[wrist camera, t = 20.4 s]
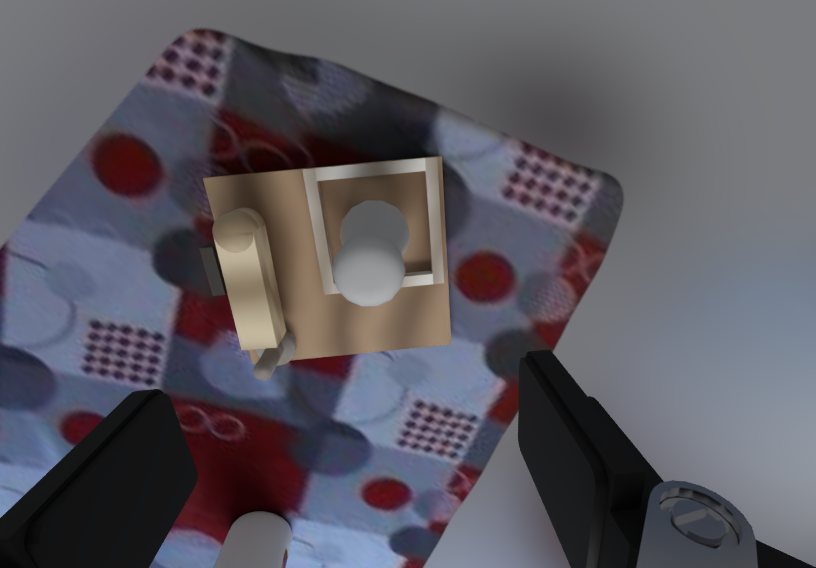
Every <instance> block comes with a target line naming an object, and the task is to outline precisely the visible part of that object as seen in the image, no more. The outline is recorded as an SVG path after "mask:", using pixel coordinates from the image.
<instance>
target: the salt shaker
mask: <svg viewBox="0 0 816 568" xmlns="http://www.w3.org/2000/svg"><path fill="white" fill-rule="evenodd" d="M410 236H411V235H410V231H409V227H408V223H407V220H406V218H405V217H404V216H403V214H402V213H401V212H400V211H399V209H398V208H397V207H395V206H393V205H391V204H389V203H386V202H384V201H374V200H366V201H364V202H362V203H360V204H358V205H356V206H354V207H352V208H351V209H350V211H349V212H348V213H347V215H346V216H345V217H344V218H343V220H342V224H341V230H340V239H341V243H342V247H341V248H340V250H339V251H338V252H337V253H336V255H335V257H334V264H333V270H332V273H333V278H334V281H335V284H336V288H337V290H338V291H339V292H340V293H341V294H342V295H343V296H344V297H345V298H346V299H347V300H348V301H350V302H353V303H355V304H357V305H360V306H378V305H381V304H383V303H385V302H387V301H390V300H391V299H392V298H393V297H394V296H395V294H396V293H397V292H398V291H399V290H400V288H401V286H402V283H403V279H404V275H405V271H406V270H405V266H404V262H403V258H402V256H403V255H404V253H405V252H406V250H407V247H408V243H409V239H410Z"/></svg>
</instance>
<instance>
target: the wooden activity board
mask: <svg viewBox="0 0 816 568" xmlns="http://www.w3.org/2000/svg"><path fill="white" fill-rule="evenodd" d="M203 181H204V184H205V188H206V192H207V196H208V199H209V203H210V207H211V211H212V214H213V218H214V222H215V221H216V219H217V218H219V217H220V216H222V215H224V214H226V213H229V212H231V211H234V210H236V209H239V208H251V209H253V210H255V211H257V212H258V213H259V214H260V215H261V216H262V218H263V219H264V222H265V226H266V231H267V236H268V241H269V246H270V251H271V256H272V261H273V266H274V271H275V277H276V282H277V287H278V292H279V297H280V302H281V307H282V312H283V317H284V322H285V327H286V333H285V335H284V336H283V338H282V340H281V342H280V344H279V345H278V347H277V348H265V349H253V350H249V353H250V356H251V360H252V364H256V365H255V367H254V369H253V375H254V376H255V377H256V378H257V379H259V380H267V379H269V378H270V377H271V375H272V373H273V372H274V370H275V368H276V366H277V365H283V364H286V363H288V362H289V361H290V360H298V359H308V358H318V357H328V356H338V355H348V354H358V353H368V352H378V351H388V350H398V349H408V348H418V347H428V346H438V345H448V344H451V328H450V309H449V289H448V270H447V250H446V231H445V212H444V192H443V173H442V156H432V157H421V158H410V159H400V160H389V161H378V162H367V163H356V164H345V165H334V166H324V167H313V168H302V169H291V170H280V171H269V172H258V173H248V174H237V175H226V176H215V177H207V178H203ZM366 200H374V201H384V202H386V203H389V204H391V205H393V206H395V207H397V208H398V209H399V211H400V212H401V213H402V214H403V216H404V217H405V218H406V220H407V223H408V227H409V231H410V235H411V236H410V239H409V243H408V247H407V250H406V252H405V253H404V255H403V256H402V258H403V262H404V266H405V270H406V271H405V275H404V279H403V283H402V286H401V288H400V290H399V291H398V292H397V293H396V294H395V296H394V297H393V298H392V299H391V300H390V301H387V302H385V303H383V304H381V305H378V306H360V305H357V304H355V303H353V302H350V301H348V300H347V299H346V298H345V297H344V296H343V295H342V294H341V293H340V292H339V291H338V290H337V288H336V284H335V281H334V278H333V273H332V270H333V264H334V257H335V255H336V253H337V252H338V251H339V250H340V248H341V247H342V243H341V239H340V230H341V224H342V220H343V218H344V217H345V216H346V215H347V213H348V212H349V211H350V209H351V208H352V207H354V206H356V205H358V204H360V203H362V202H364V201H366ZM199 249H200V253H201V256H202V260H203V263H204V267H205V270H206V274H207V277H208V280H209V284H210V287H211V291H212V294H213V296H216V295H225V294H226V293H227V289H226V285H225V281H224V277H223V273H222V269H221V265H220V261H219V257H218V253H217V249H216V245H215V241H212V242H210V243H208V244H206V245H205V246H203V247H201V248H199Z"/></svg>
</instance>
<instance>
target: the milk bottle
mask: <svg viewBox="0 0 816 568" xmlns="http://www.w3.org/2000/svg"><path fill="white" fill-rule="evenodd" d="M291 541H292V532H291V528H290V526H289V524H288V523H287V522H286V520H284V519H283V518H282V517H280V516H278V515H276V514H274V513H271V512H266V511H254V512H250V513H247V514H244V515H242V516H241V517H239V518H238V519H237V520H236V521H235V522H234V523H233V524H232V526H231V528H230V530H229V532H228V535H227V537H226V539H225V542H224V544H223V547H222V549H221V551H220V554H219V556H218V559H217V561H216V563H215V566H214V568H285V566H286V562H287V558H288V554H289V550H290V545H291Z"/></svg>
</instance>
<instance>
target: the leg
mask: <svg viewBox="0 0 816 568" xmlns="http://www.w3.org/2000/svg"><path fill="white" fill-rule="evenodd" d="M213 237H214V241H215V245H216V249H217V253H218V257H219V261H220V265H221V269H222V273H223V277H224V281H225V285H226V289H227V293H228V297H229V301H230V305H231V309H232V313H233V317H234V321H235V325H236V329H237V333H238V337H239V341H240V345H241V349H242V350H253V349H265V348H277V347H278V345H279V344H280V342H281V340H282V338H283V336H284V335H285V333H286V327H285V322H284V317H283V312H282V307H281V302H280V297H279V292H278V287H277V282H276V277H275V271H274V266H273V261H272V256H271V251H270V246H269V241H268V236H267V231H266V226H265V222H264V219H263V218H262V216H261V215H260V214H259V213H258V212H257V211H255V210H253V209H251V208H239V209H236V210H234V211H231V212H229V213H226V214H224V215H222V216H220V217H219V218H217V219H216V221H215V222H214V225H213Z"/></svg>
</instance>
